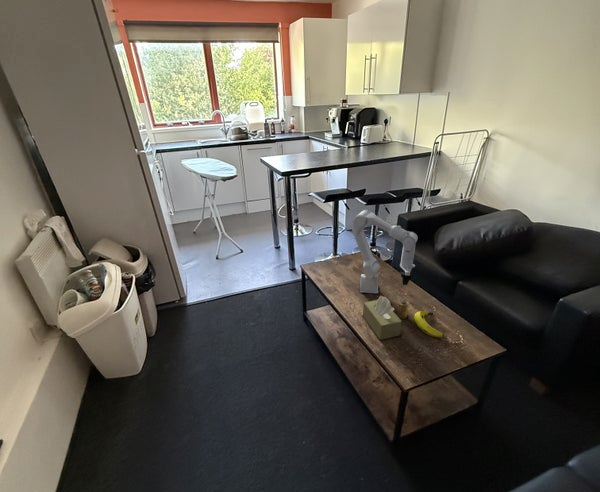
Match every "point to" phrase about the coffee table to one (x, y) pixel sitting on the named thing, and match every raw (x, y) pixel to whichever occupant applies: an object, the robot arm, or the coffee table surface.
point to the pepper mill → (402, 309)
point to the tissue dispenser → (382, 318)
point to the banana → (426, 324)
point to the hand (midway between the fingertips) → (404, 280)
